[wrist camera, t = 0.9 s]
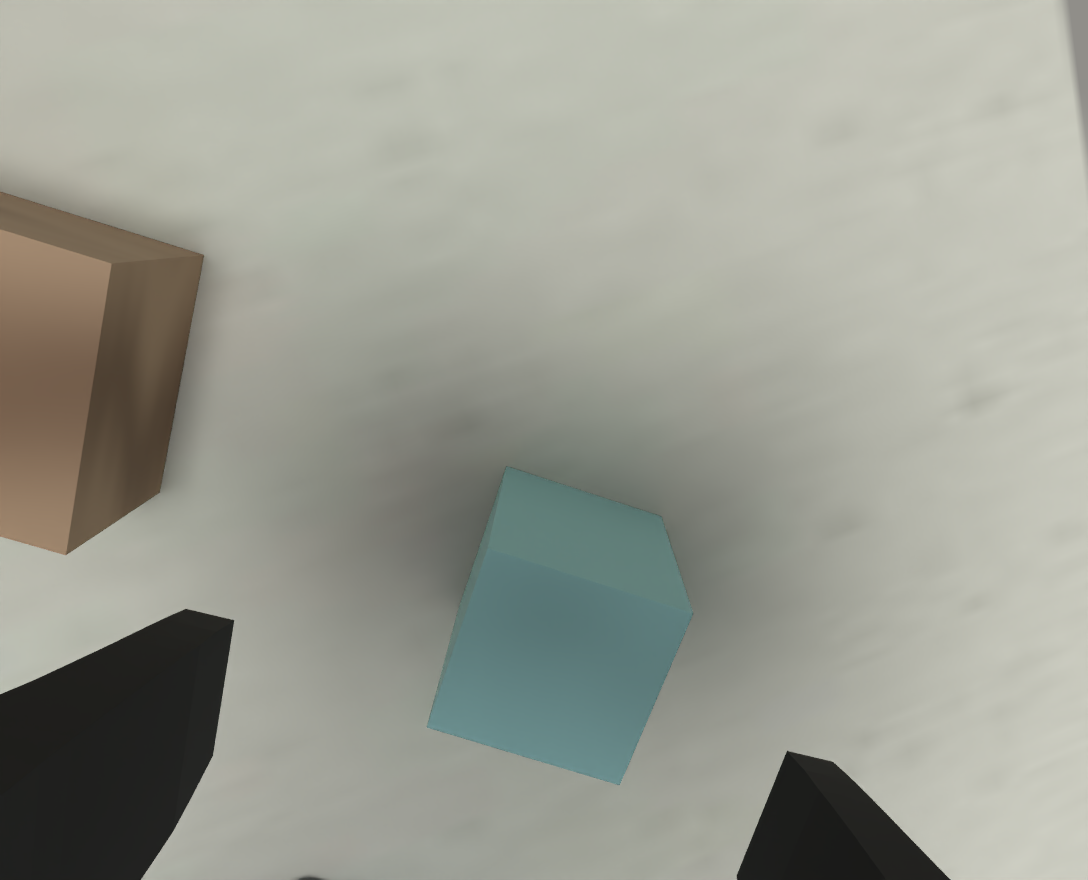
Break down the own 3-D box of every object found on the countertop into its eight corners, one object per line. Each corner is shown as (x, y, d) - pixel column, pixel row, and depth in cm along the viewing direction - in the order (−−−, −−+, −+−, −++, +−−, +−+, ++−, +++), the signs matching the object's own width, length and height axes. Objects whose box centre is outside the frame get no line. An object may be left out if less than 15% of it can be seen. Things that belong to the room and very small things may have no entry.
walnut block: (163, 490, 20) (66, 554, 16) (-78, 419, 19) (-237, 468, 16) (207, 254, 18) (111, 263, 14) (-53, 173, 18) (-223, 160, 14)
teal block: (606, 652, 20) (619, 785, 16) (459, 606, 20) (426, 727, 15) (660, 515, 19) (693, 613, 15) (506, 465, 19) (488, 548, 14)
